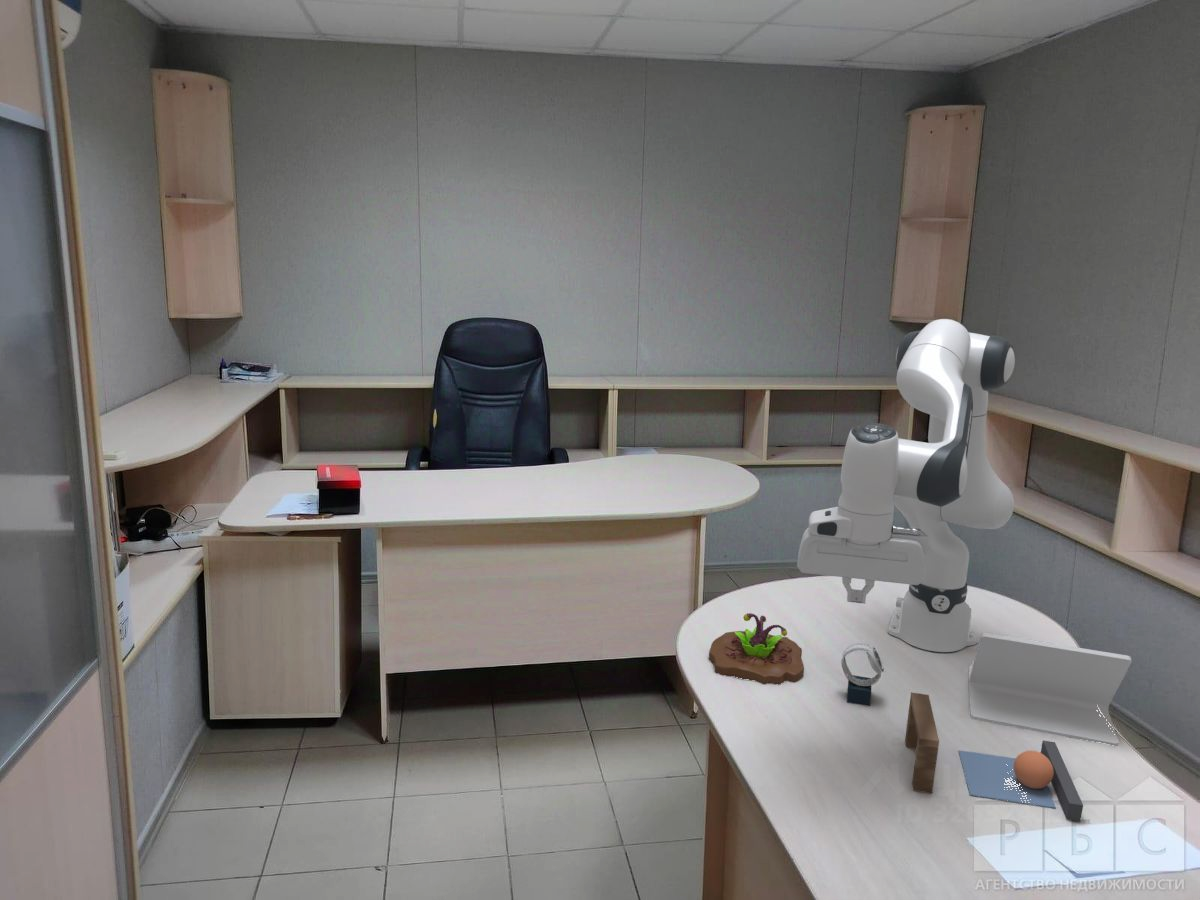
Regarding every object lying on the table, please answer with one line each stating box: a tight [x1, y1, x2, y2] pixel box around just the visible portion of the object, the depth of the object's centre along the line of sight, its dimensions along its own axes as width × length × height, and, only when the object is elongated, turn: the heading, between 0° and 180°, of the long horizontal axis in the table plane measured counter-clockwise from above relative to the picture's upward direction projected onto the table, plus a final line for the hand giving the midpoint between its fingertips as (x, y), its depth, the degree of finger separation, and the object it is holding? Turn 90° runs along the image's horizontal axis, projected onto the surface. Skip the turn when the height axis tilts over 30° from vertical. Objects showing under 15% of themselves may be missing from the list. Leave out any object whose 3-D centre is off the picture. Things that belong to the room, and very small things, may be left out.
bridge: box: [904, 692, 940, 794], centre depth 154 cm, size 3×15×10 cm, turn 167°
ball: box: [1014, 750, 1054, 789], centre depth 150 cm, size 6×6×6 cm
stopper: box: [1040, 740, 1084, 823], centre depth 150 cm, size 18×2×3 cm, turn 167°
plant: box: [708, 612, 805, 686], centre depth 189 cm, size 20×20×11 cm
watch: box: [840, 643, 885, 707], centre depth 175 cm, size 6×8×11 cm
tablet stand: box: [967, 632, 1132, 747], centre depth 172 cm, size 18×25×17 cm
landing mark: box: [958, 749, 1057, 810], centre depth 152 cm, size 13×13×1 cm
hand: (855, 601), depth 150 cm, fingers closed
